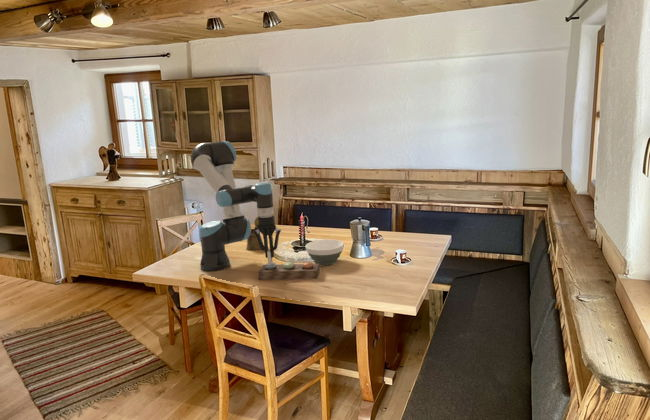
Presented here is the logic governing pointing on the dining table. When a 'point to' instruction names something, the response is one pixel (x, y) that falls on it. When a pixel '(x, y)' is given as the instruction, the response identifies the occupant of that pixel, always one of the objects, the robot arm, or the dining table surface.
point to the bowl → (325, 251)
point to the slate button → (270, 266)
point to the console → (289, 272)
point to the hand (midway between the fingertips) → (270, 263)
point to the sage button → (289, 265)
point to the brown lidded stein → (253, 238)
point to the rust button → (307, 265)
